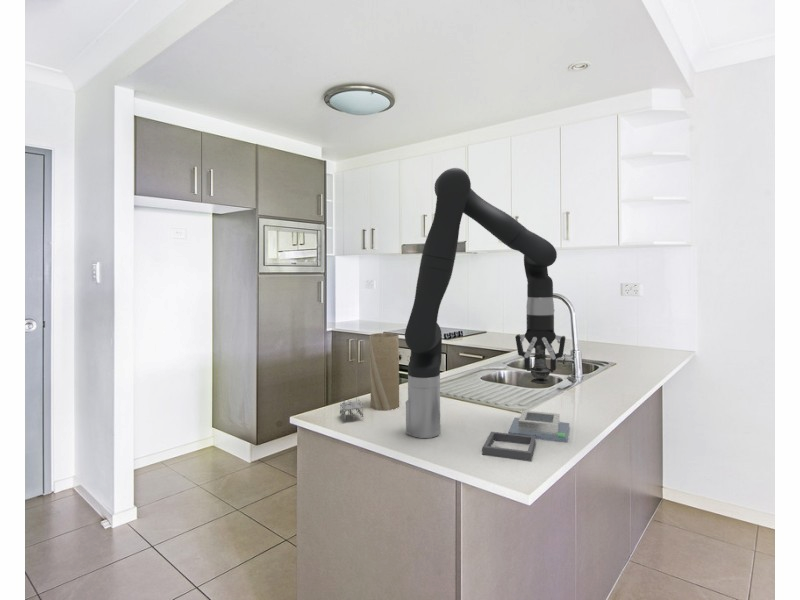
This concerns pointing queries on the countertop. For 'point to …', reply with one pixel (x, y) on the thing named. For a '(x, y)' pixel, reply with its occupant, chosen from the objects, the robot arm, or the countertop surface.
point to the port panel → (540, 426)
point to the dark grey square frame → (509, 452)
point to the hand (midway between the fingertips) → (540, 370)
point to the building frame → (351, 408)
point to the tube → (384, 371)
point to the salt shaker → (540, 367)
